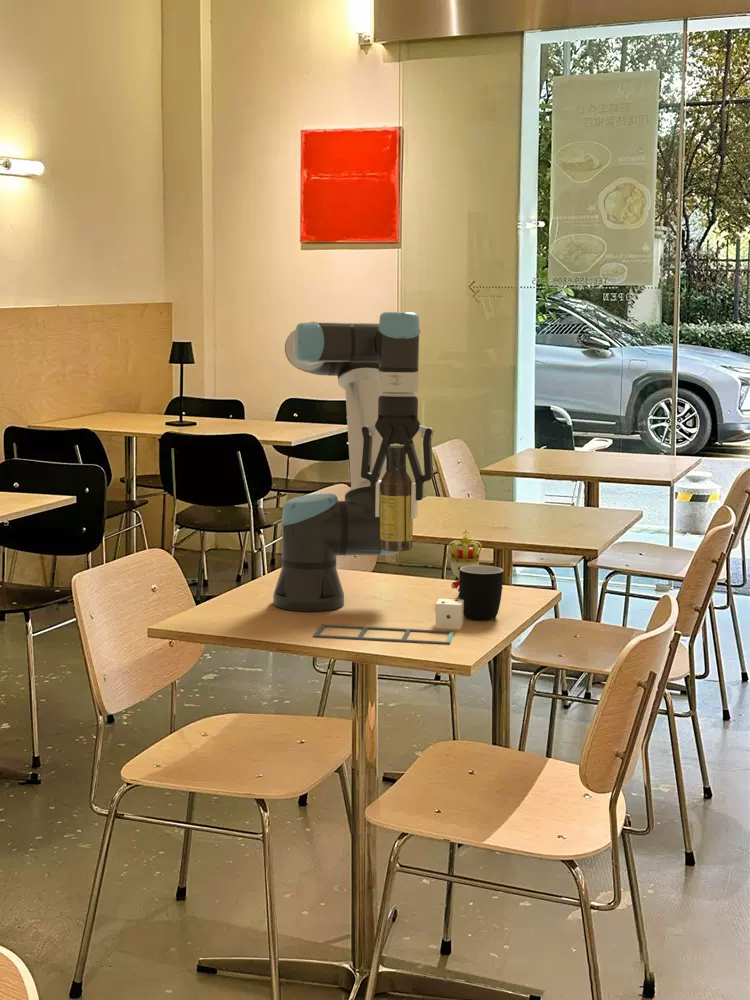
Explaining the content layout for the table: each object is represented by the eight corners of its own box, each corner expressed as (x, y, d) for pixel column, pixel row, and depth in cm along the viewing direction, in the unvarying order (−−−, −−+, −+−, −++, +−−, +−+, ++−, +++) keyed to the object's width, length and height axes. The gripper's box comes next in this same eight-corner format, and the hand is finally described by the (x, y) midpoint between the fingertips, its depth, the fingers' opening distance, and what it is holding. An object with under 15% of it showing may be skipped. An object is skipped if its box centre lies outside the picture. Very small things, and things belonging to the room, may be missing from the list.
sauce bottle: (401, 546, 246) (404, 444, 243) (418, 551, 240) (421, 446, 238) (373, 548, 243) (375, 444, 240) (389, 553, 237) (391, 447, 235)
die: (438, 622, 256) (439, 597, 256) (463, 623, 255) (463, 598, 255) (435, 628, 251) (435, 602, 250) (460, 630, 250) (461, 604, 250)
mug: (510, 620, 259) (512, 571, 258) (473, 624, 255) (475, 575, 253) (478, 608, 269) (479, 561, 268) (442, 612, 265) (443, 564, 264)
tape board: (322, 625, 252) (322, 624, 251) (454, 632, 248) (454, 631, 248) (312, 636, 242) (312, 635, 242) (449, 644, 238) (449, 642, 238)
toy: (453, 600, 276) (455, 533, 274) (443, 593, 283) (445, 527, 281) (484, 599, 278) (486, 532, 276) (474, 592, 285) (476, 527, 283)
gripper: (344, 394, 236) (342, 517, 239) (445, 396, 232) (443, 521, 235) (352, 393, 244) (351, 512, 246) (451, 395, 240) (449, 516, 242)
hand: (396, 516), depth 241 cm, fingers closed on sauce bottle, 6 cm apart
